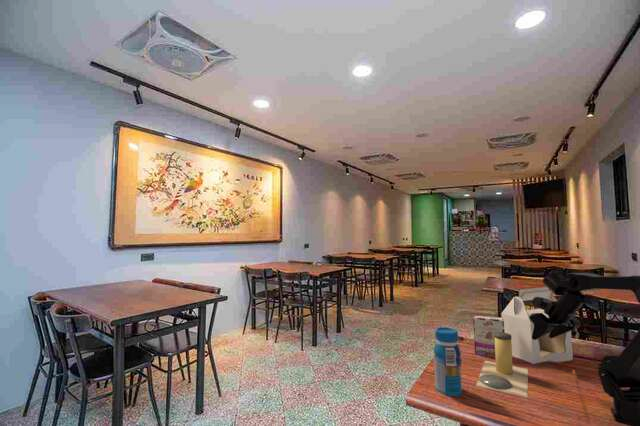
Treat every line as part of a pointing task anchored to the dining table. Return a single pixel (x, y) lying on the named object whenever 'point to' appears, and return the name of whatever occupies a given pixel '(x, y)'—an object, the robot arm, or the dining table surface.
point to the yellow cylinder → (503, 353)
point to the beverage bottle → (447, 362)
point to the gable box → (523, 330)
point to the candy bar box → (486, 334)
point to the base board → (517, 379)
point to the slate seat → (495, 381)
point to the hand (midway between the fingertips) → (541, 338)
